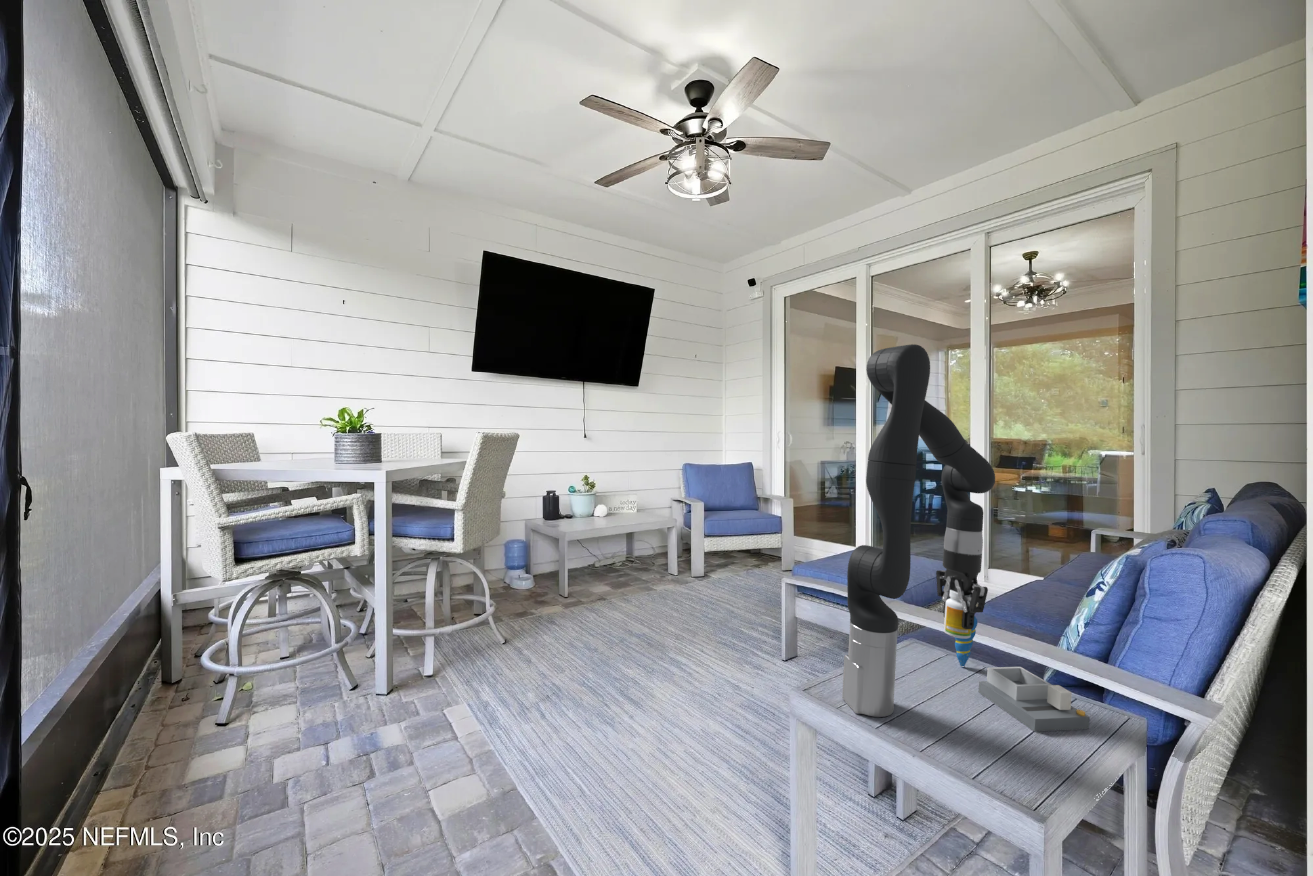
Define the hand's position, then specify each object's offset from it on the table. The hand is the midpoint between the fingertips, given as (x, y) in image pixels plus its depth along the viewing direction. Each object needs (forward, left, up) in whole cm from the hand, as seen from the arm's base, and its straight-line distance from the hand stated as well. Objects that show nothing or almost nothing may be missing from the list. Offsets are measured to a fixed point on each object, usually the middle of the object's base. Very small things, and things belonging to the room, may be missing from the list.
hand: (957, 623), depth 120 cm
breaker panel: (+10, -10, -15) cm, 21 cm away
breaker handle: (+13, -14, -12) cm, 22 cm away
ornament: (+9, +9, -15) cm, 20 cm away
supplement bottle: (0, 0, -3) cm, 3 cm away
